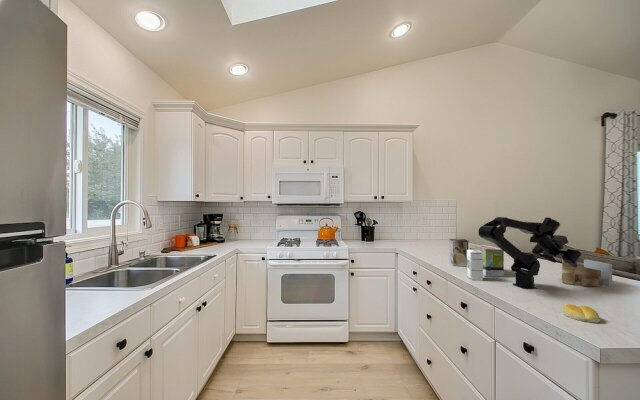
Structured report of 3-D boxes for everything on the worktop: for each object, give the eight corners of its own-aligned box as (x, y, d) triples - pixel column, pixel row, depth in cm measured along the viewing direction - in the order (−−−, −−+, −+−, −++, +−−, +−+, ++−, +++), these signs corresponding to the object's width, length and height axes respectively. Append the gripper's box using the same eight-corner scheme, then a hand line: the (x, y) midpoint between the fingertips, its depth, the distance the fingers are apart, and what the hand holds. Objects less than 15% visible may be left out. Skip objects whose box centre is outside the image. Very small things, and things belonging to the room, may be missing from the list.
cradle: (585, 286, 117) (585, 271, 117) (561, 279, 127) (561, 265, 127) (601, 285, 118) (600, 270, 118) (576, 279, 128) (576, 265, 128)
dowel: (569, 285, 119) (569, 262, 119) (559, 282, 124) (559, 260, 124) (577, 285, 120) (577, 261, 120) (567, 282, 124) (567, 259, 124)
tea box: (504, 277, 133) (504, 248, 133) (485, 277, 133) (485, 248, 133) (486, 269, 148) (486, 244, 148) (468, 269, 148) (468, 244, 148)
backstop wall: (608, 285, 119) (608, 264, 119) (583, 279, 129) (583, 259, 129) (612, 285, 119) (612, 264, 119) (587, 279, 129) (587, 259, 129)
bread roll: (559, 310, 92) (559, 299, 92) (594, 316, 87) (594, 304, 87) (565, 319, 85) (565, 307, 85) (603, 326, 80) (603, 313, 80)
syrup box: (483, 280, 126) (483, 251, 126) (470, 280, 127) (470, 251, 127) (478, 277, 132) (478, 249, 132) (466, 276, 133) (466, 249, 133)
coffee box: (464, 264, 160) (464, 238, 160) (469, 266, 154) (469, 240, 154) (449, 263, 162) (449, 238, 162) (452, 266, 155) (452, 239, 155)
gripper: (577, 232, 112) (599, 256, 113) (536, 227, 130) (555, 248, 132) (562, 250, 111) (584, 274, 112) (523, 243, 129) (542, 264, 131)
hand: (565, 264), depth 122 cm, fingers open, 9 cm apart
